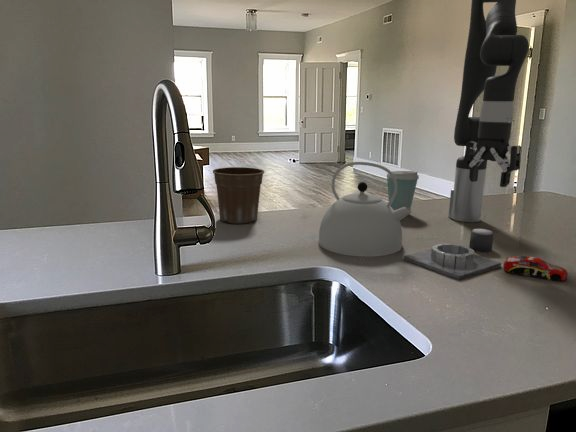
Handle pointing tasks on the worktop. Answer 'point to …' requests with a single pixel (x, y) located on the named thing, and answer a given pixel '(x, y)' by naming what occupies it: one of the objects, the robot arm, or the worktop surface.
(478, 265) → the square plate with hole
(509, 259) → the race car
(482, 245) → the cylindrical peg
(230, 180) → the plant pot
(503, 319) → the worktop surface
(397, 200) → the disposable coffee cup
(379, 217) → the kettle
